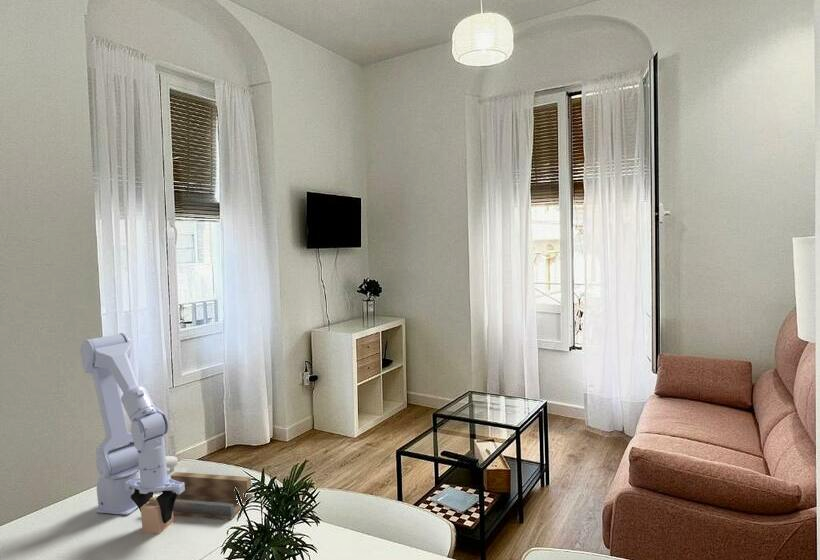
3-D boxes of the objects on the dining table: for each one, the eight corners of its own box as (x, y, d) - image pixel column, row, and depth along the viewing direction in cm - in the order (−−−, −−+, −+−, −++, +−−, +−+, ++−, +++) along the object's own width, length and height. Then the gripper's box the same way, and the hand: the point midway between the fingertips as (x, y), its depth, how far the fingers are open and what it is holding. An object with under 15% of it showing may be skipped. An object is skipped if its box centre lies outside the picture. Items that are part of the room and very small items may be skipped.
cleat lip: (151, 509, 128) (150, 499, 128) (155, 506, 129) (154, 497, 129) (231, 516, 123) (230, 506, 123) (234, 513, 124) (233, 503, 124)
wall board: (151, 513, 128) (149, 490, 127) (177, 492, 137) (175, 472, 137) (231, 520, 123) (229, 497, 123) (252, 498, 133) (250, 477, 132)
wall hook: (140, 458, 138) (161, 442, 148) (143, 492, 139) (164, 474, 148) (170, 458, 137) (190, 442, 147) (173, 492, 138) (192, 474, 148)
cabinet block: (142, 532, 120) (140, 503, 119) (157, 520, 124) (154, 492, 124) (159, 533, 119) (157, 504, 118) (173, 521, 124) (171, 493, 123)
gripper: (113, 470, 118) (118, 526, 119) (168, 474, 115) (173, 532, 116) (135, 457, 125) (140, 510, 126) (188, 460, 122) (193, 514, 123)
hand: (157, 519), depth 121 cm, fingers closed on cabinet block, 4 cm apart
